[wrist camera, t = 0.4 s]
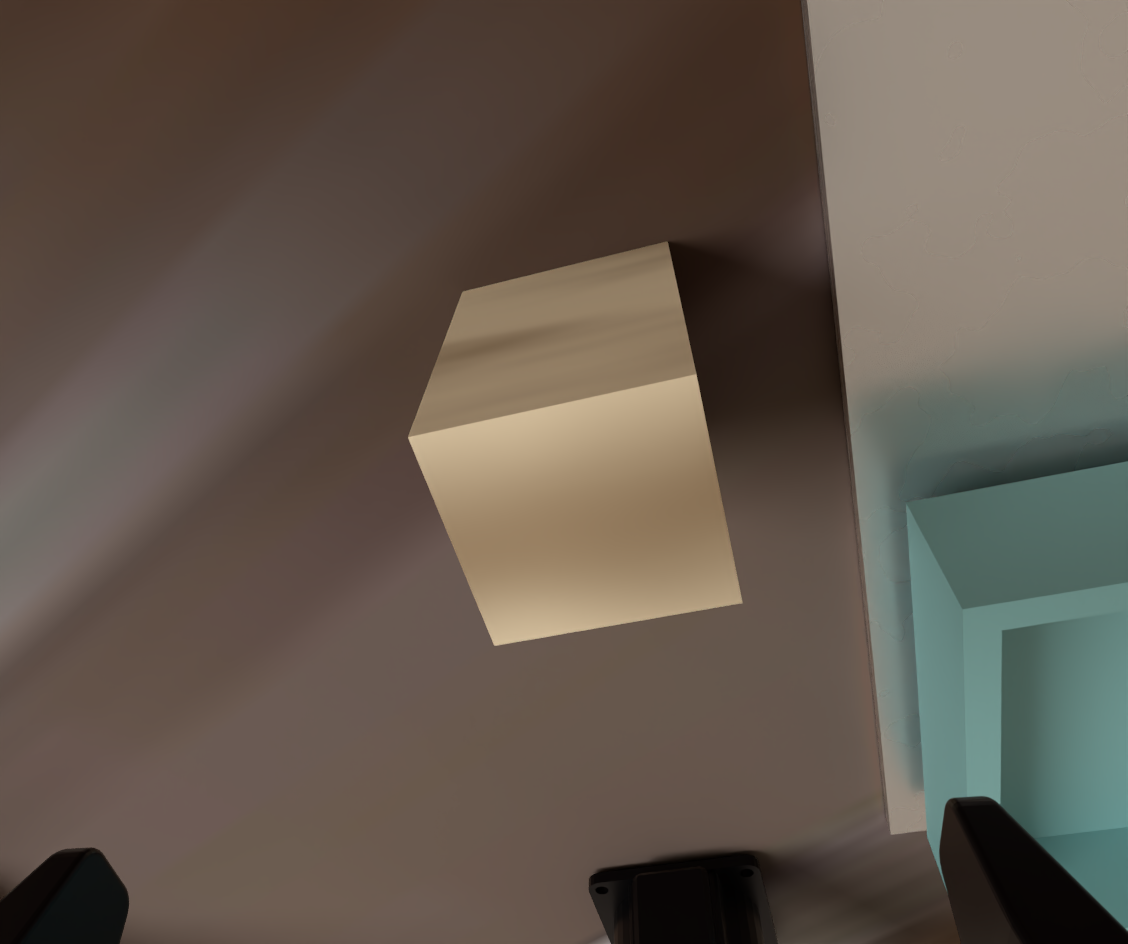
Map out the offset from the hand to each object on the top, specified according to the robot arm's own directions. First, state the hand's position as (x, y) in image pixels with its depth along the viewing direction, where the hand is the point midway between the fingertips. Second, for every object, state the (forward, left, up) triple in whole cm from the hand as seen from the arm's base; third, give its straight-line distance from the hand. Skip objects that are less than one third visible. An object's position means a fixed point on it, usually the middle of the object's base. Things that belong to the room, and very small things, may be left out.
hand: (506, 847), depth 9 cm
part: (-1, 0, -14) cm, 14 cm away
